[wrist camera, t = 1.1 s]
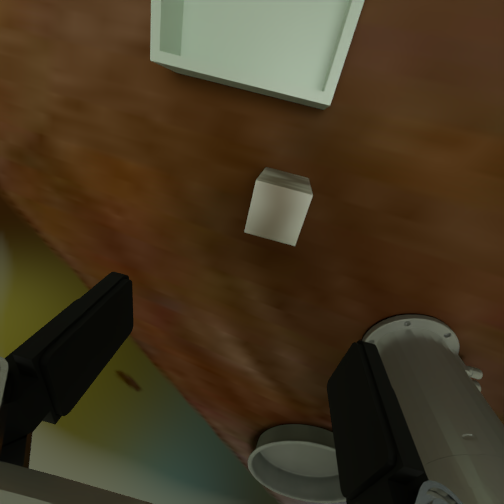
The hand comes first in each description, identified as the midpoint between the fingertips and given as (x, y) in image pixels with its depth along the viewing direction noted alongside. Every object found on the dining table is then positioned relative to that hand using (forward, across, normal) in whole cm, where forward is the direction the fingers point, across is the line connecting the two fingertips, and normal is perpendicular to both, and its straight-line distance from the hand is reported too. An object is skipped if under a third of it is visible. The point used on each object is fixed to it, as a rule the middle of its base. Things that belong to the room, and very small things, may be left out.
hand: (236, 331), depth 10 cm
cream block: (+22, -1, 0) cm, 22 cm away
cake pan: (+21, -22, +53) cm, 61 cm away
